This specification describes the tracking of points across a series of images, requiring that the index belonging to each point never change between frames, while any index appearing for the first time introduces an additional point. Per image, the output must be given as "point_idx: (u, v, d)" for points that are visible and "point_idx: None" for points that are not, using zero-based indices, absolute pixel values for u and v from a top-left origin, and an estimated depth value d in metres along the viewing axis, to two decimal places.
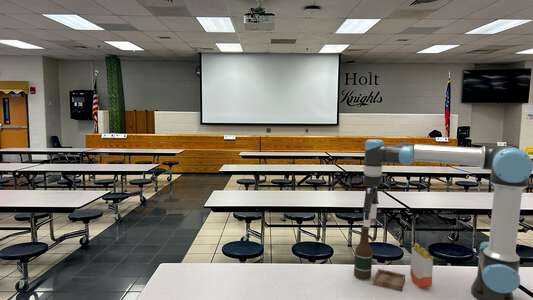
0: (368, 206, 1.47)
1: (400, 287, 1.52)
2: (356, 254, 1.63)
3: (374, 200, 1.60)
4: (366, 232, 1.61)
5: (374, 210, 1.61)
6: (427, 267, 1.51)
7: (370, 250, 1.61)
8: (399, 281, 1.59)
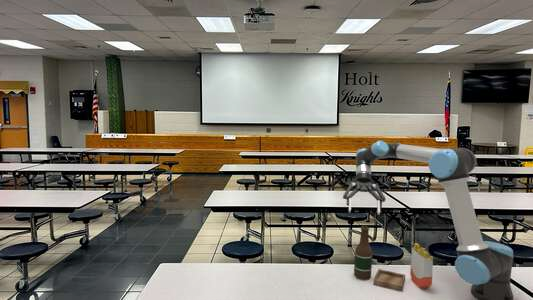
0: None
1: (400, 287, 1.52)
2: (356, 254, 1.63)
3: (376, 197, 1.74)
4: (366, 232, 1.61)
5: (377, 205, 1.71)
6: (427, 267, 1.51)
7: (370, 250, 1.61)
8: (399, 281, 1.59)
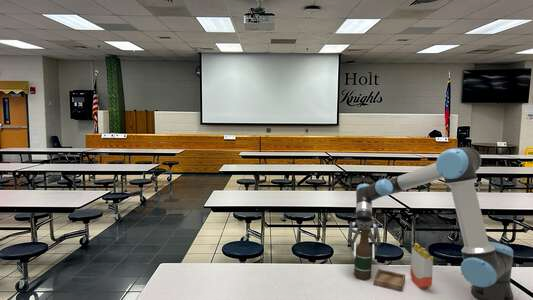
0: (348, 236, 1.67)
1: (400, 287, 1.52)
2: (356, 254, 1.63)
3: (371, 239, 1.65)
4: (366, 232, 1.61)
5: (372, 250, 1.61)
6: (427, 267, 1.51)
7: (370, 250, 1.61)
8: (399, 281, 1.59)
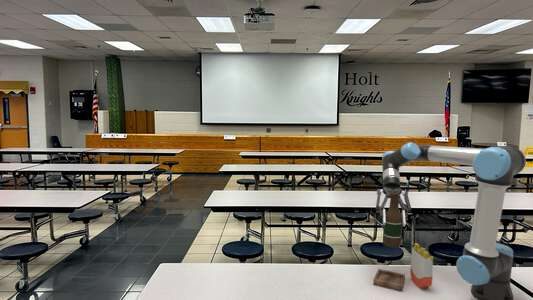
0: (376, 203, 1.60)
1: (400, 287, 1.52)
2: None
3: (401, 205, 1.57)
4: (396, 197, 1.53)
5: (402, 216, 1.54)
6: (427, 267, 1.51)
7: (400, 216, 1.54)
8: (399, 281, 1.59)
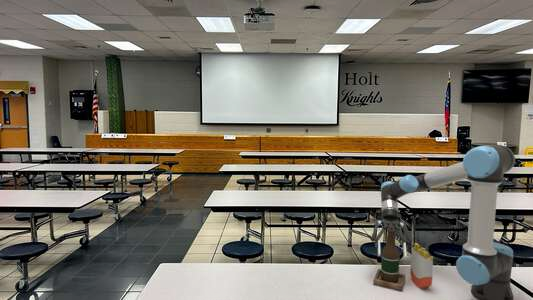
0: None
1: (400, 287, 1.52)
2: (383, 257, 1.58)
3: (402, 238, 1.59)
4: (393, 234, 1.56)
5: (403, 249, 1.56)
6: (427, 267, 1.51)
7: (397, 252, 1.56)
8: (399, 281, 1.59)
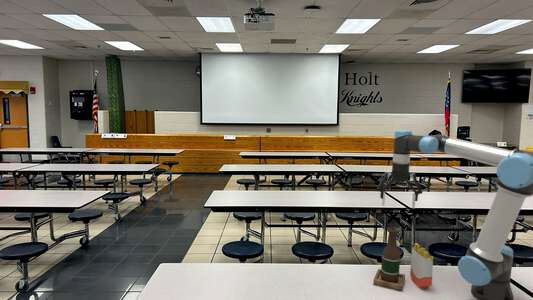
0: (379, 185, 1.69)
1: (400, 287, 1.52)
2: (383, 257, 1.58)
3: (412, 189, 1.66)
4: (394, 234, 1.56)
5: (413, 200, 1.66)
6: (427, 267, 1.51)
7: (398, 253, 1.56)
8: (399, 281, 1.59)
